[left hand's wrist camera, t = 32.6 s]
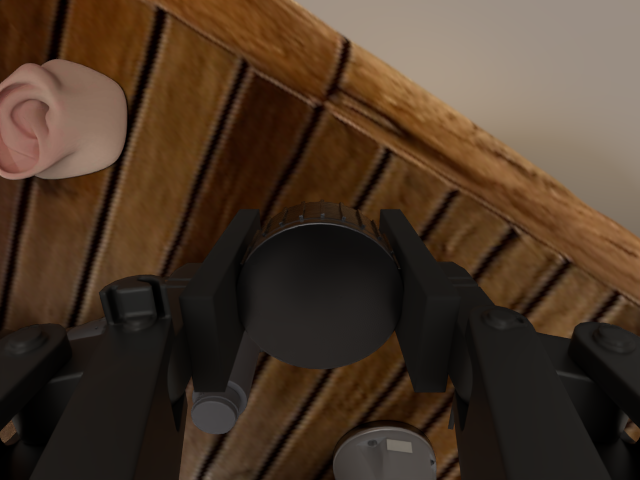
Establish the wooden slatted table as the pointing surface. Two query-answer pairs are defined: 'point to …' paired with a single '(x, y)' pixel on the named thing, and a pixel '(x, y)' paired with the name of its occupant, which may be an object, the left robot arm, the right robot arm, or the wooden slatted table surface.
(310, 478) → the wooden slatted table surface
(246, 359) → the bottle
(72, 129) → the anatomical model
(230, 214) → the wooden slatted table surface
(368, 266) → the lid
